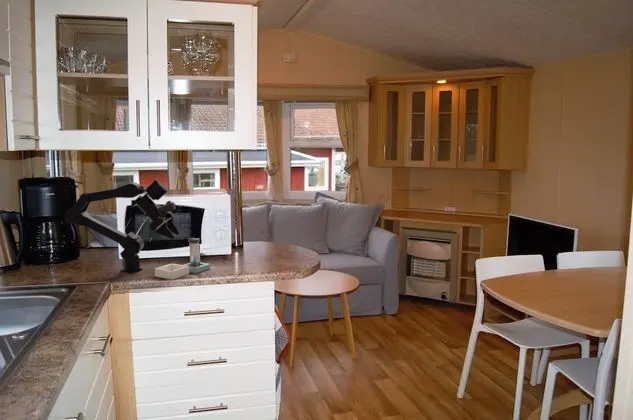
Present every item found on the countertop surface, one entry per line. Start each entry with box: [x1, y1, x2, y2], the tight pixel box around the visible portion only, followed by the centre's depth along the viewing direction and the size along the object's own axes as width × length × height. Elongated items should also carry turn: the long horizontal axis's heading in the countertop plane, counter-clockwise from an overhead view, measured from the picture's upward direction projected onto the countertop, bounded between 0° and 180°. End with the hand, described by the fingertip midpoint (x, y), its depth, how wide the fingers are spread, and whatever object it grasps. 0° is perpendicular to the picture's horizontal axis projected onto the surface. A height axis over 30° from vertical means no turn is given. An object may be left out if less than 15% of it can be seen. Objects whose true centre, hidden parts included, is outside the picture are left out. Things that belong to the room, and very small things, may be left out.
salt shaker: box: [187, 237, 201, 267], centre depth 212 cm, size 5×5×13 cm
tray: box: [154, 263, 190, 280], centre depth 205 cm, size 10×10×3 cm
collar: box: [183, 261, 211, 274], centre depth 213 cm, size 9×9×2 cm
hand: (176, 236), depth 211 cm, fingers open, 9 cm apart
